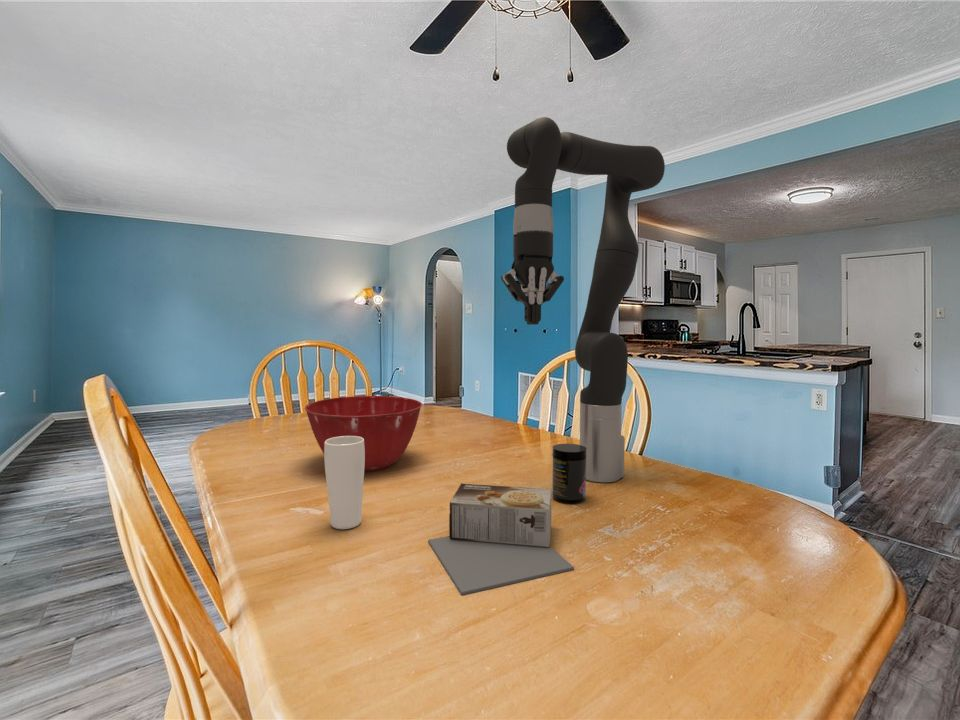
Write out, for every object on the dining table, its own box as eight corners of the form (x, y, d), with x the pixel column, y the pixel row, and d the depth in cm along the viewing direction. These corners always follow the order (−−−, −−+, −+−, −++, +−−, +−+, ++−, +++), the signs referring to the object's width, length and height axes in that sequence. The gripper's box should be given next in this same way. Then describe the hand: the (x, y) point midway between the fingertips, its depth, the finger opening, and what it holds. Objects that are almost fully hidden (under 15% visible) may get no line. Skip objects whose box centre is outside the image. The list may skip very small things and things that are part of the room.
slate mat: (522, 525, 81) (522, 523, 81) (574, 569, 66) (574, 566, 66) (428, 542, 75) (428, 539, 75) (461, 595, 60) (461, 592, 60)
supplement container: (579, 507, 89) (580, 453, 88) (546, 500, 93) (547, 449, 92) (590, 496, 95) (591, 446, 94) (558, 490, 98) (559, 441, 98)
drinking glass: (373, 519, 84) (372, 437, 83) (351, 535, 77) (349, 446, 76) (341, 514, 86) (339, 434, 85) (317, 529, 80) (315, 443, 78)
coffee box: (551, 524, 81) (461, 517, 84) (552, 488, 80) (461, 482, 83) (549, 549, 72) (448, 539, 75) (550, 508, 71) (448, 500, 74)
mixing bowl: (445, 459, 122) (444, 400, 121) (363, 491, 98) (362, 419, 97) (368, 444, 137) (367, 392, 136) (281, 469, 113) (279, 406, 112)
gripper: (553, 238, 94) (552, 324, 95) (493, 233, 89) (493, 324, 90) (574, 231, 87) (572, 324, 88) (510, 226, 82) (509, 324, 83)
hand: (532, 324), depth 89 cm, fingers closed
